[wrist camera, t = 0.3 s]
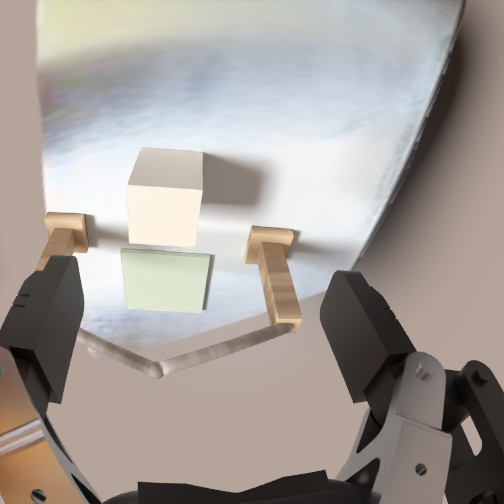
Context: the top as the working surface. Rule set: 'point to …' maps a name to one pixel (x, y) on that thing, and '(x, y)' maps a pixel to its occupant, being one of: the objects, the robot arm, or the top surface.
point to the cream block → (165, 197)
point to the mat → (164, 280)
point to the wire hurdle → (281, 322)
